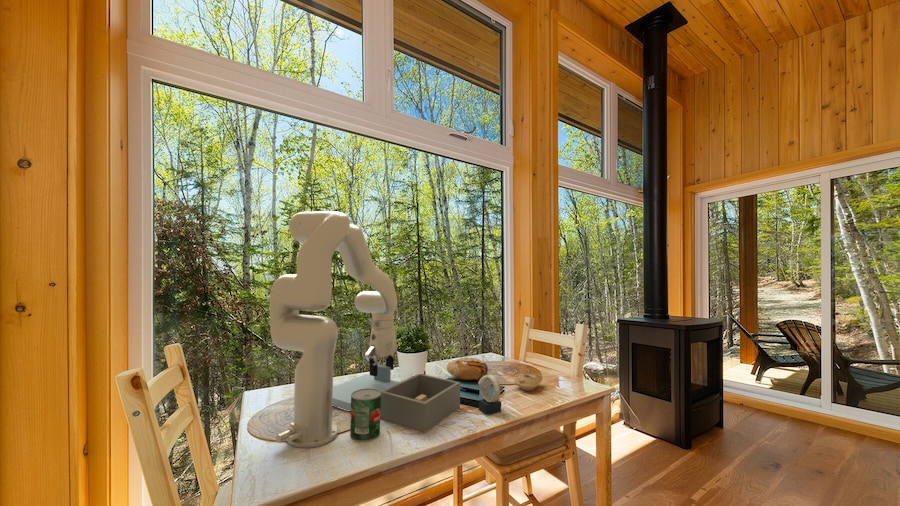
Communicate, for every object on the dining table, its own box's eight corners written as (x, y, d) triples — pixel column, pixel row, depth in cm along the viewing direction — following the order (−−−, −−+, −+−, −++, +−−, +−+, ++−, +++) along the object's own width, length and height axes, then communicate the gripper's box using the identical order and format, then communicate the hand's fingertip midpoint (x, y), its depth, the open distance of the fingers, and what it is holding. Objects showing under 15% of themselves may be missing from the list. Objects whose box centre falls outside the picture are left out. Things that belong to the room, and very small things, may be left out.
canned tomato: (348, 430, 100) (349, 390, 100) (376, 425, 103) (377, 386, 103) (352, 444, 92) (353, 401, 92) (383, 439, 95) (384, 396, 96)
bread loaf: (505, 386, 138) (474, 396, 129) (469, 367, 155) (440, 375, 146) (506, 365, 137) (475, 374, 128) (470, 349, 154) (441, 356, 146)
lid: (359, 415, 109) (360, 389, 109) (316, 401, 119) (317, 377, 119) (406, 391, 129) (406, 369, 129) (366, 381, 139) (366, 360, 139)
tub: (424, 433, 99) (425, 403, 99) (379, 419, 107) (379, 391, 107) (459, 407, 116) (460, 382, 116) (418, 396, 124) (419, 373, 124)
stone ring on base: (489, 404, 119) (490, 370, 119) (504, 414, 112) (505, 378, 112) (475, 407, 116) (475, 373, 117) (489, 417, 109) (489, 381, 109)
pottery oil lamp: (550, 386, 136) (551, 372, 132) (527, 403, 130) (527, 389, 127) (533, 372, 142) (533, 359, 139) (510, 387, 137) (510, 374, 133)
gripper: (374, 329, 122) (373, 381, 122) (405, 321, 138) (404, 367, 137) (357, 326, 126) (356, 377, 126) (390, 319, 141) (389, 364, 141)
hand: (381, 372), depth 132 cm, fingers open, 8 cm apart
